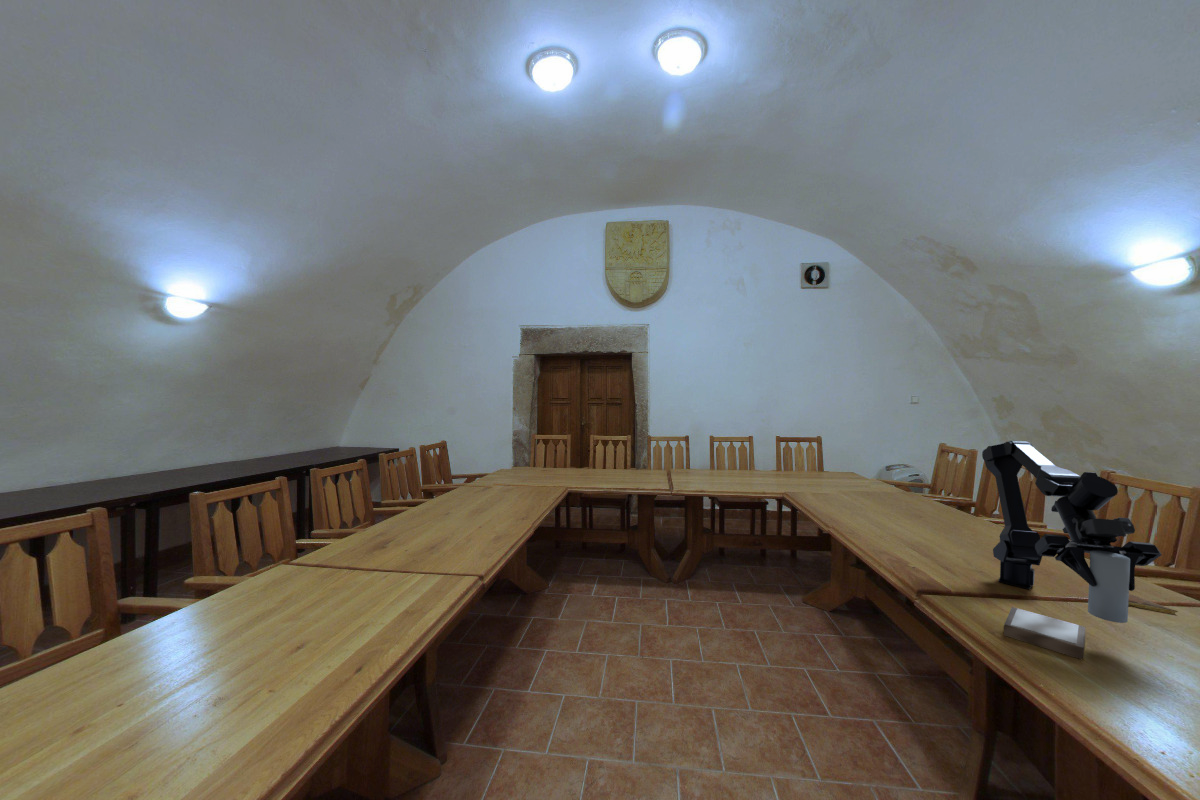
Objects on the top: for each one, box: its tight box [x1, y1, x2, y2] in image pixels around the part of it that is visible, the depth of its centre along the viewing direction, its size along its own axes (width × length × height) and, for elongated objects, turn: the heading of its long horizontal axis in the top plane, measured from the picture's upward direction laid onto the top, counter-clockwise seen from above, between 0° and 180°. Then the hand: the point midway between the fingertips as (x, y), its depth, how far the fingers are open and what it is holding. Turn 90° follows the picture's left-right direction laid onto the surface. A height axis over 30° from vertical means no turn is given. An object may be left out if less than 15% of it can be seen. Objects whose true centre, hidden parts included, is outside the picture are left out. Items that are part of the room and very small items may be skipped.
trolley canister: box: [1087, 551, 1130, 624], centre depth 95 cm, size 6×6×13 cm
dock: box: [1003, 606, 1086, 661], centre depth 99 cm, size 12×12×3 cm
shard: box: [1128, 593, 1179, 615], centre depth 114 cm, size 11×8×2 cm
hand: (1113, 588), depth 94 cm, fingers closed on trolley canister, 6 cm apart
